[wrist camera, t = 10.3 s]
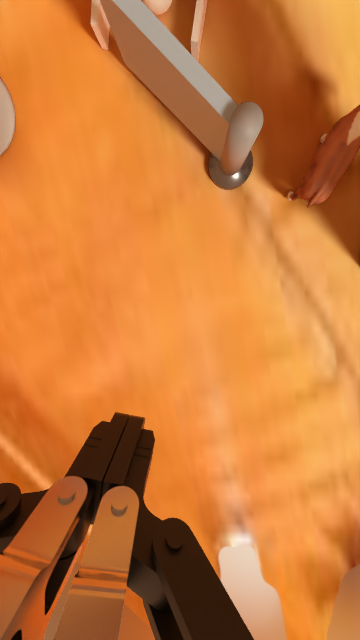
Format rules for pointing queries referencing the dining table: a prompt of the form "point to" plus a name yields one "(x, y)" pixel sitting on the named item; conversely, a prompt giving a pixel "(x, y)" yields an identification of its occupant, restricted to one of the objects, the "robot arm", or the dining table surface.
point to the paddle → (183, 84)
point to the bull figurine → (330, 160)
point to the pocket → (103, 27)
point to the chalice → (6, 118)
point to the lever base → (229, 181)
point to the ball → (158, 5)
